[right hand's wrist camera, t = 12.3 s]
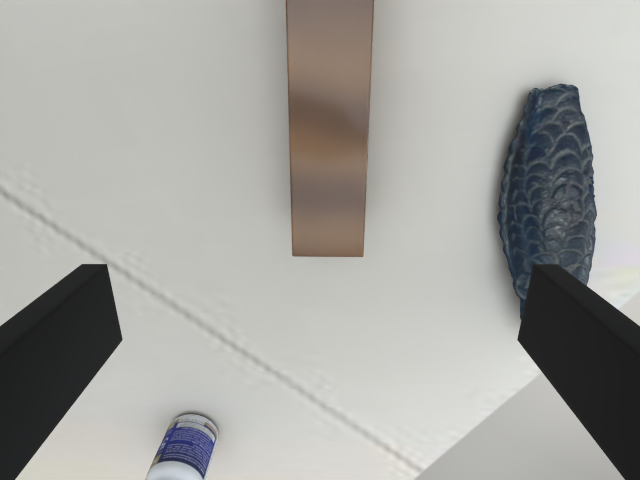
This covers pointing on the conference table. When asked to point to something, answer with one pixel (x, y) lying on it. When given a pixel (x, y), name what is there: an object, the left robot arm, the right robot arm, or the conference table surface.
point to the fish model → (549, 189)
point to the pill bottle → (185, 450)
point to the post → (328, 123)
